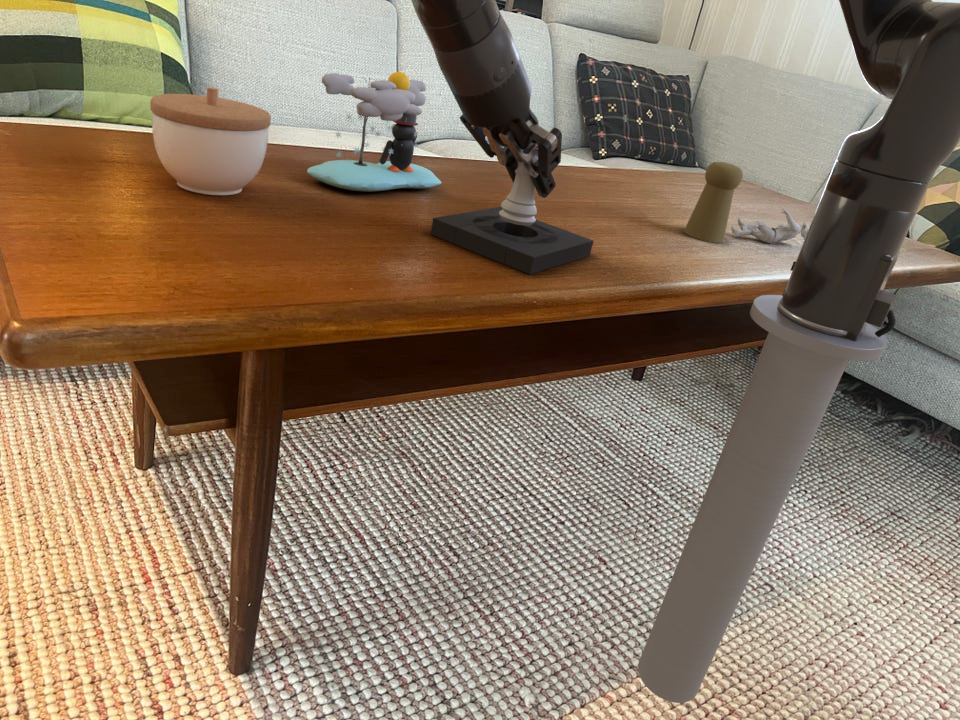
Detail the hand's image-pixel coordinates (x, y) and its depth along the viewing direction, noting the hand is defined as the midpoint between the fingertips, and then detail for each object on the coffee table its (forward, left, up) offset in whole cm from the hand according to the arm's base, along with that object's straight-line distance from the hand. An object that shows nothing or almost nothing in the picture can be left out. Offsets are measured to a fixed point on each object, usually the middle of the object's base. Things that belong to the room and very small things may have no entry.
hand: (535, 186), depth 85 cm
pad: (0, +2, -7) cm, 7 cm away
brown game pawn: (-11, -35, -7) cm, 38 cm away
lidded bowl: (+30, +22, -7) cm, 38 cm away
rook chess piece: (0, +2, -4) cm, 5 cm away
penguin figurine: (+25, -1, -7) cm, 26 cm away
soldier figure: (-18, -45, -7) cm, 49 cm away
